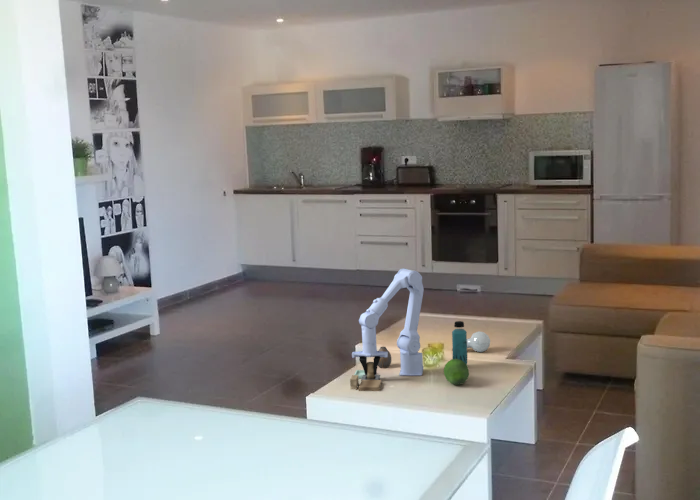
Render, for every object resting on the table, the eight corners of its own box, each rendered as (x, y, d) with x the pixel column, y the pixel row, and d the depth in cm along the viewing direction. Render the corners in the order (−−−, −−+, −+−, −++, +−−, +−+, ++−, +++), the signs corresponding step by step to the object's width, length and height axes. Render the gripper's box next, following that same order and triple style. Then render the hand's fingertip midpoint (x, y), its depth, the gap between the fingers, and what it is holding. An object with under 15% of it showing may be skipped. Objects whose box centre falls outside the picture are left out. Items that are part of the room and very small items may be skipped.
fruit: (444, 377, 334) (443, 353, 332) (468, 377, 332) (467, 353, 331) (444, 388, 319) (443, 363, 317) (469, 388, 318) (469, 363, 316)
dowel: (375, 378, 334) (374, 361, 333) (374, 380, 331) (373, 363, 330) (367, 378, 335) (366, 361, 334) (366, 380, 332) (365, 363, 331)
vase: (392, 364, 356) (391, 345, 355) (391, 368, 349) (390, 349, 348) (376, 364, 357) (375, 345, 356) (375, 369, 350) (374, 349, 349)
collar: (380, 378, 336) (380, 374, 336) (378, 383, 329) (378, 379, 329) (363, 378, 337) (363, 374, 337) (361, 383, 330) (361, 379, 330)
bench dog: (358, 384, 328) (358, 375, 328) (356, 389, 322) (356, 379, 322) (352, 384, 329) (352, 375, 328) (350, 389, 323) (350, 379, 322)
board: (381, 384, 329) (381, 379, 329) (379, 392, 319) (378, 387, 319) (362, 384, 330) (361, 379, 330) (358, 392, 320) (358, 387, 320)
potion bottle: (492, 355, 369) (459, 358, 372) (491, 339, 376) (458, 342, 379) (489, 342, 363) (456, 346, 366) (488, 326, 370) (455, 329, 373)
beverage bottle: (450, 369, 345) (449, 323, 343) (454, 364, 351) (453, 319, 349) (465, 370, 343) (464, 323, 340) (469, 365, 349) (468, 320, 346)
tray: (375, 373, 343) (375, 370, 343) (372, 378, 335) (372, 375, 335) (356, 373, 344) (356, 370, 344) (353, 378, 337) (353, 375, 336)
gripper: (350, 344, 328) (351, 376, 330) (385, 344, 326) (387, 376, 328) (352, 340, 335) (354, 372, 337) (387, 339, 333) (389, 371, 335)
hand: (370, 374), depth 333 cm, fingers closed on dowel, 3 cm apart
